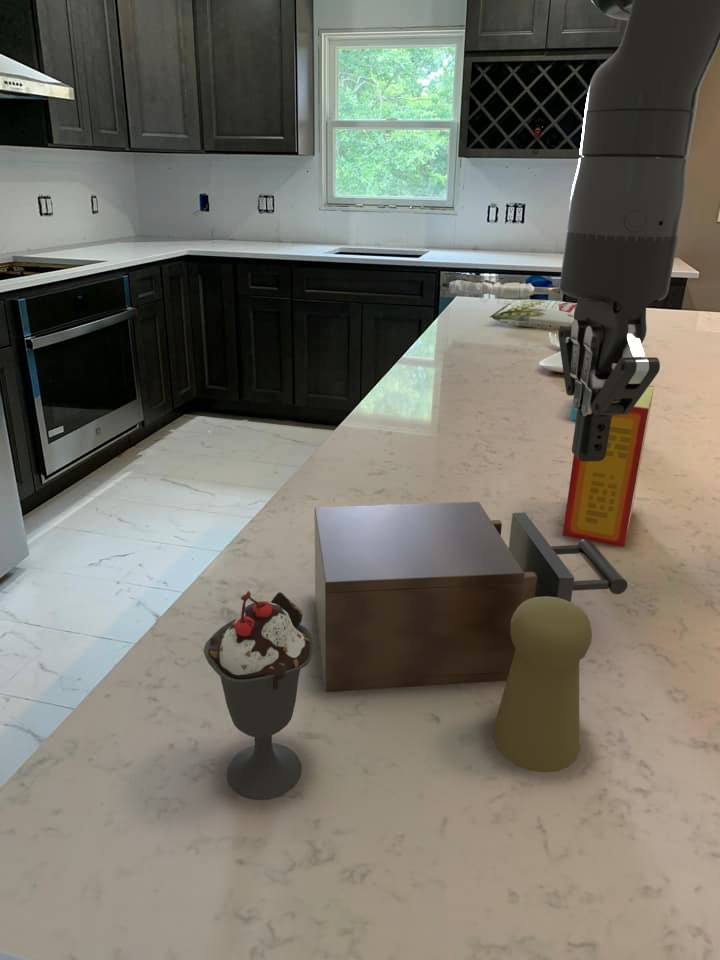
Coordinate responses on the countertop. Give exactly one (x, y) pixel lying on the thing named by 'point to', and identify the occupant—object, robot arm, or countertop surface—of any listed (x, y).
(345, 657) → the cabinet
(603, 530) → the baking soda box
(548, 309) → the frozen beans
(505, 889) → the countertop surface
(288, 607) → the sundae
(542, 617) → the cork
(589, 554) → the drawer
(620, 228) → the robot arm
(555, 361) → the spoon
